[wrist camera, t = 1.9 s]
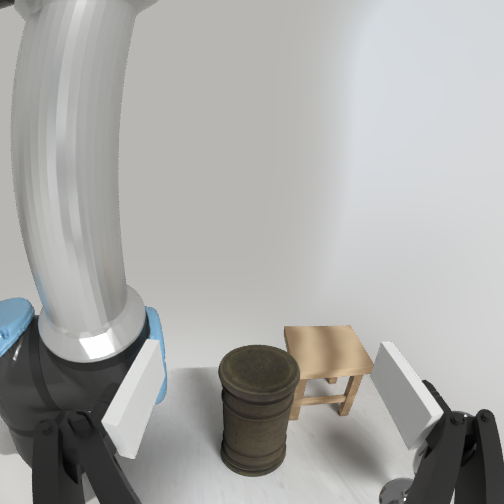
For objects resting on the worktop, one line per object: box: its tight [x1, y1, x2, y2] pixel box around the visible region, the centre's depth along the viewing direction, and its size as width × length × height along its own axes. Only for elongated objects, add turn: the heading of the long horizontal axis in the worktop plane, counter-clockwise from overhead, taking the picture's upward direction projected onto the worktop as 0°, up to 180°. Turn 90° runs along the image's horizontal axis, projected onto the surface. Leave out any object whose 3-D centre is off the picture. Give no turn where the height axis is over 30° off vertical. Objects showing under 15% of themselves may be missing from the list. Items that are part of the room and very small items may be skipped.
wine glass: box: [379, 411, 474, 504], centre depth 17 cm, size 8×8×15 cm
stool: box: [284, 325, 374, 420], centre depth 41 cm, size 12×12×12 cm
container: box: [218, 345, 300, 477], centre depth 28 cm, size 9×9×18 cm
